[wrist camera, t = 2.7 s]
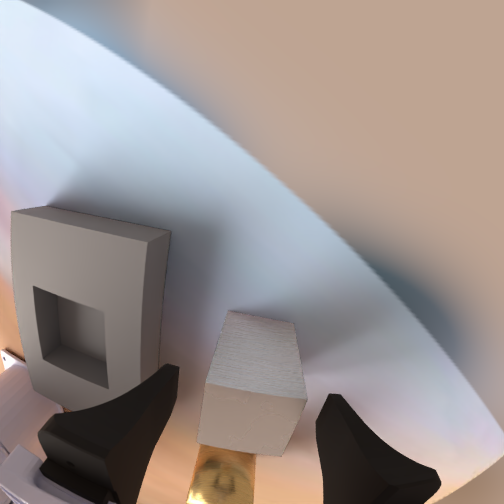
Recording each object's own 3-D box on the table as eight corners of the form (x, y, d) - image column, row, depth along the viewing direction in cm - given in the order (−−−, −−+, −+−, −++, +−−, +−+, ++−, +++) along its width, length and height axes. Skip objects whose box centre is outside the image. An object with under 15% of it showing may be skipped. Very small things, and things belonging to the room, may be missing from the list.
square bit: (277, 375, 18) (281, 456, 11) (217, 363, 18) (196, 442, 11) (293, 323, 17) (307, 399, 10) (227, 310, 17) (205, 382, 10)
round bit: (250, 460, 20) (245, 525, 13) (200, 451, 20) (184, 515, 13) (261, 430, 19) (259, 504, 12) (205, 420, 19) (186, 492, 12)
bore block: (157, 409, 19) (143, 440, 16) (55, 369, 19) (33, 390, 16) (171, 230, 16) (147, 242, 13) (45, 205, 16) (11, 211, 13)
